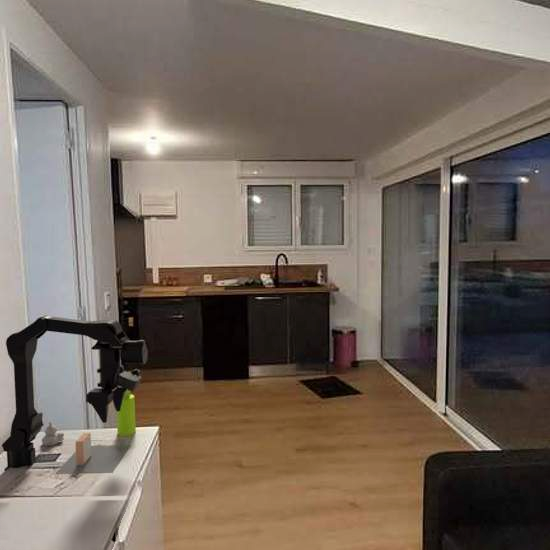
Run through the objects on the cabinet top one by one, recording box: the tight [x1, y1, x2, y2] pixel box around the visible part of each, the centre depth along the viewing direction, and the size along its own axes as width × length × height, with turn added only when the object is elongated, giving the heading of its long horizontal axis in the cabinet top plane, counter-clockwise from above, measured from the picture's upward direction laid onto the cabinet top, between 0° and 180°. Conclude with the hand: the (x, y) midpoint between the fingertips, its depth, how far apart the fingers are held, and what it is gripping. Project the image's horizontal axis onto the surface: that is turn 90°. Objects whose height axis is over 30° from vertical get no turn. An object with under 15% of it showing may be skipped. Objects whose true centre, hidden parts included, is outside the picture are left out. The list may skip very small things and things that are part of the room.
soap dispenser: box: [116, 390, 137, 437], centre depth 158 cm, size 6×7×20 cm
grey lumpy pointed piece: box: [41, 421, 65, 447], centre depth 151 cm, size 5×7×8 cm
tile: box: [75, 432, 92, 465], centre depth 138 cm, size 2×6×7 cm, turn 1°
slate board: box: [54, 444, 132, 475], centre depth 139 cm, size 16×18×1 cm
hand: (111, 416), depth 136 cm, fingers open, 9 cm apart
